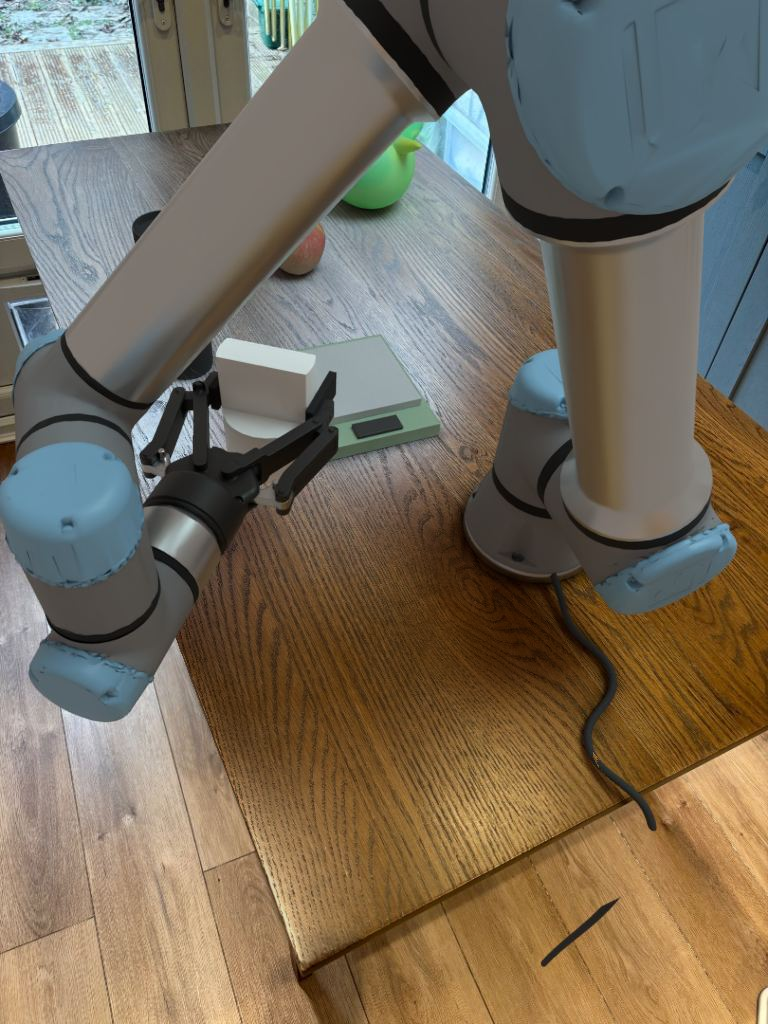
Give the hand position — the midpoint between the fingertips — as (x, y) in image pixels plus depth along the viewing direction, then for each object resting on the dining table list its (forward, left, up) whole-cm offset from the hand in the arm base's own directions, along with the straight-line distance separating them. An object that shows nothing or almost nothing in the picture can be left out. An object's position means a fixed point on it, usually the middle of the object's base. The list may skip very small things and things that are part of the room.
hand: (286, 371), depth 75 cm
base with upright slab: (-4, +3, -7) cm, 9 cm away
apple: (+46, -16, -18) cm, 52 cm away
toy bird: (+64, -36, -18) cm, 76 cm away
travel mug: (+27, +6, -18) cm, 33 cm away
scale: (+13, -13, -18) cm, 26 cm away
